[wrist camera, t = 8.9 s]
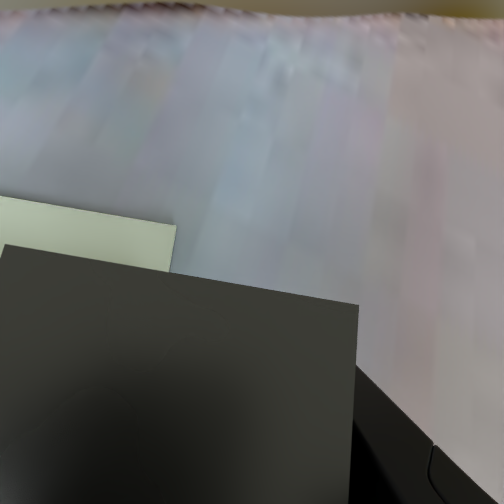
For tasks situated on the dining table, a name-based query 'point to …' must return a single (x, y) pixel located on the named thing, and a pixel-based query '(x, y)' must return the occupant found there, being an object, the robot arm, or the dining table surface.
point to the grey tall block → (169, 387)
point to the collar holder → (86, 234)
